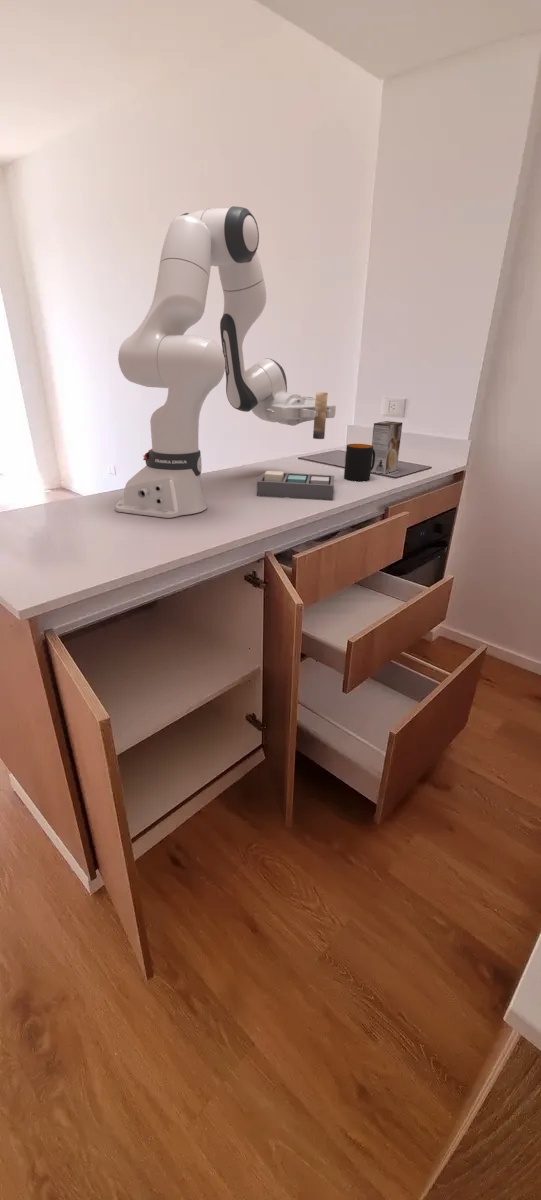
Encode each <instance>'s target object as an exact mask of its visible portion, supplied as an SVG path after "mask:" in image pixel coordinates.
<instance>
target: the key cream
mask: <svg viewBox="0 0 541 1200" xmlns="http://www.w3.org/2000/svg"><path fill="white" fill-rule="evenodd" d="M265 472H266V473H265V475H264V481H271V482H283V480H284V473H285V471H284V470H283V471H282V470H266V471H265Z"/></svg>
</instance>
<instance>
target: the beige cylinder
mask: <svg viewBox="0 0 541 1200" xmlns="http://www.w3.org/2000/svg"><path fill="white" fill-rule="evenodd" d="M328 396H329V395H328V392H324V391H323V392H322V391H321V392H320V391H319V392H318V391H317V392H315V398H316V400H315V410H316V411H318V417H317V418H314V420H313V431H312V432H313V433H312V435H313V436H312V439H313V440H324V439H325V435H326V434H325V432H326V421H327V418H326V409H327V402H328Z"/></svg>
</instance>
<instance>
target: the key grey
mask: <svg viewBox="0 0 541 1200" xmlns="http://www.w3.org/2000/svg"><path fill="white" fill-rule="evenodd" d="M310 484H327V485H329V477H316V476H312V477H311V483H310Z"/></svg>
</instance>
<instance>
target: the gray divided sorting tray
mask: <svg viewBox="0 0 541 1200" xmlns="http://www.w3.org/2000/svg"><path fill="white" fill-rule="evenodd" d="M265 473H266V471H263V472H262V474H261V475H260V476H259V478H258V479H257V481H256V496H257V497H269V498H270V497H271V498H284V497H289V498H288V499H302V498H303V499H304V500H305V499H306V500H319V499H323V500H324V501H333V499H334V487H335V475H333V474H332V475H331V474H313V473H312V474H307V473H294V472H293V473H292V472H291V473H290V472H284V480H283V482H271V481H264V475H265ZM289 475H298V476H306V483H290V482H287V479H288V476H289ZM312 476H316V477H329V485H327V484H310V483H311V477H312Z"/></svg>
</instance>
